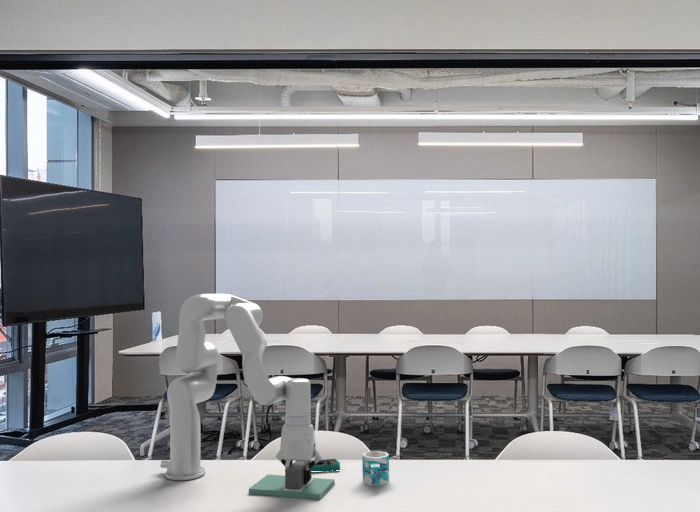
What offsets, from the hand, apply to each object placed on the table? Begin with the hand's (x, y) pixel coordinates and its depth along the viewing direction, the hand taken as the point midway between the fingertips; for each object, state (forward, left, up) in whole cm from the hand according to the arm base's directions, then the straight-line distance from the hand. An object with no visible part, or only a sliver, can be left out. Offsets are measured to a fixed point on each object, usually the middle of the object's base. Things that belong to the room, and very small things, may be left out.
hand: (298, 481), depth 184 cm
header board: (-2, 0, -2) cm, 3 cm away
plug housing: (0, +2, -1) cm, 2 cm away
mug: (+21, +11, -3) cm, 24 cm away
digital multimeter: (-1, +21, -3) cm, 21 cm away
